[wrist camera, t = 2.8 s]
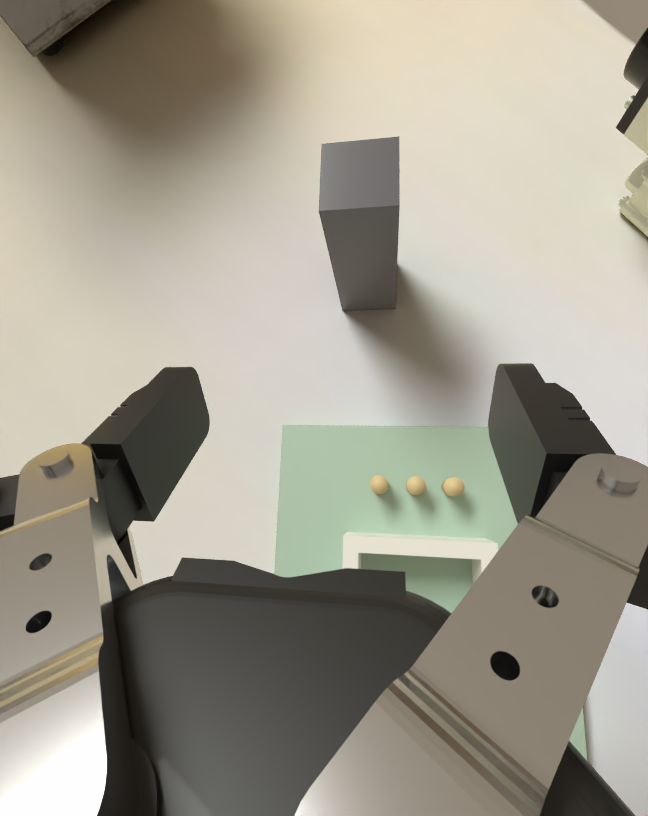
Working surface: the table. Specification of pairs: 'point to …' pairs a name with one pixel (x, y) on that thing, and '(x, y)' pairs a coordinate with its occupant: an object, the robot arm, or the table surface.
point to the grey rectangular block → (362, 219)
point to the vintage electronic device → (46, 21)
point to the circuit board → (394, 507)
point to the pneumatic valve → (637, 134)
